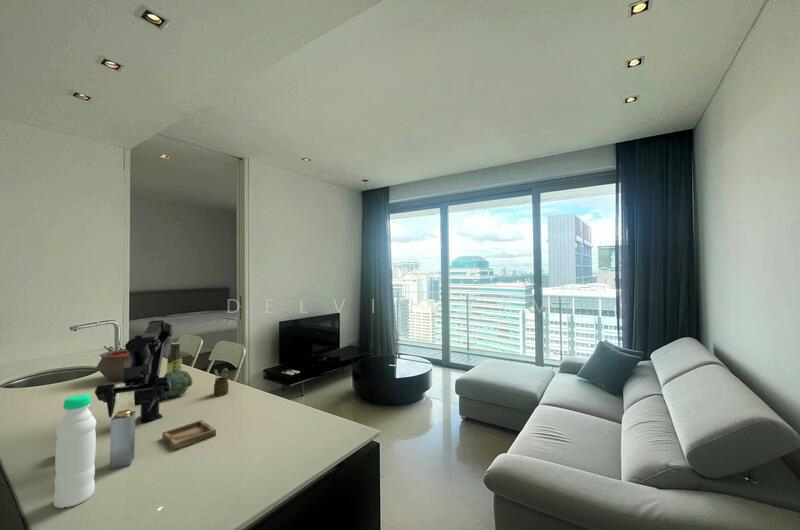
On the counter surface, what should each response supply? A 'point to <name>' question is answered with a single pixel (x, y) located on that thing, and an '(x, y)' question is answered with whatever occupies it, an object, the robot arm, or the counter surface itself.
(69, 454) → the white milk bottle
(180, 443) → the tray
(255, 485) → the counter surface
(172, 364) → the sauce bottle
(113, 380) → the brown pot
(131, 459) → the grey tall block
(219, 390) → the utensil holder
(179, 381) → the vegetable
